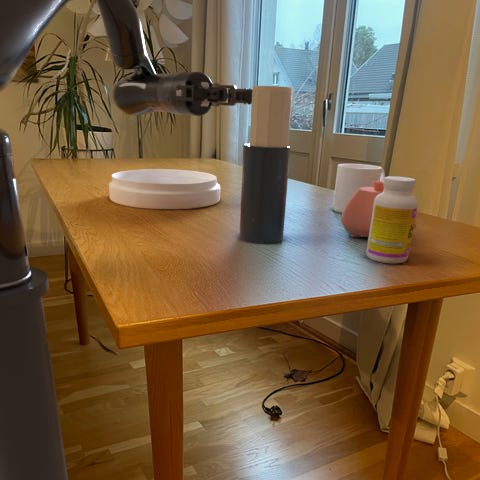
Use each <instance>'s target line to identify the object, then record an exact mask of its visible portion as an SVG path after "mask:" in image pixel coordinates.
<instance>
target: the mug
mask: <svg viewBox="0 0 480 480" xmlns="http://www.w3.org/2000/svg"><path fill="white" fill-rule="evenodd" d="M385 173H386V172H385V169H383V167H382V166H379V165H373V164H365V163H338V164H337V169H336V176H335V186H334V194H333V201H332V210H333V211H334V212H335V213H338V214H343V211H344V209H345V207H346V205H347V203H348V202H349V200H350V199H351V197H352V196H353V195H354V194H355V192H356V191H357V190H358V189H359V188H361V187H374V185H373V181H384V178H385V177H386V174H385Z"/></svg>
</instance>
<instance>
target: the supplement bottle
mask: <svg viewBox="0 0 480 480" xmlns="http://www.w3.org/2000/svg"><path fill="white" fill-rule="evenodd" d="M416 182H417V180H416V179H415V178H412V177H406V176H395V175H390V176H385V178H384V183H383V185H384V191H383V193H380V194H378V195H377V196H376V198H375V200H374V206H373V213H372V219H371V225H370V232H369V237H367V245H366V251H365V255H366V256H367V258H368V259H369V260H372V261H374V262H378V263H381V264H382V263H383V264H391V265H392V264H393V265H394V264H402V263H405V262H406V261H407V260H408V258H409V253H410V249H411V243H412V238H413V233H414V232H413V231H414V230H413V228H414V222H415V221H416V216H417V211H418V208H419V207H418V206H419V201H418V199H417V197H416V196H414V195H413V190H415V188H416Z"/></svg>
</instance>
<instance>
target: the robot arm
mask: <svg viewBox="0 0 480 480" xmlns="http://www.w3.org/2000/svg"><path fill="white" fill-rule="evenodd" d="M95 1H96V4H97V7H98V10H99V13H100V16H101V19H102V23H103V28H104V32H105V35H106V39H107V43H108V47H109V51H110V52H109V53H110V56H111V58H112V62H113V63H114V65H115V66H116V67H117V68H118V69H121V70H133V72H132V73H131V74H129V75H127V76H126V77H124V78H122V79H120V80H119V81H117V82H115V84H114V86H113V88H112V101H113V103H114V105H115V106H116V108H117V109H118V110H119V111H120V112H122V113H124V114H125V115H128V116H133V117H136V116H144V115H148V114H152V113H158V112H161V113H171V114H172V115H173V114H174V115H179V116H180V115H181V116H192V117H201V116H204V115H206V114H207V113H208V112H210V110H211V109H212V107H213V108H214V107H218V108H219V107H222V106H224V107H226V106H227V107H228V106H230V107H234V106H236V105H237V104H243V105H251V106H252V91H253V88H247V87H244V88H237V86H236V85H234V84H233V85H232V84H231V85H230V84H221V83H220V82H219V83H218V82H212V80H211V79H210V77H209V76H208V75H207V74H205V73H204V72H202V71H174V72H170V73H156V71H155V68H154V66H153V64H152V62H151V61H152V60H151V59H150V57H149V55H148V52H147V48H146V43H145V37H144V32H143V27H142V23H141V18H140V15H139V13H138V11H137V8H136V6H135V5H134V3H133V1H132V0H95ZM69 2H70V0H0V93H1V92H3V91H4V90H5V89H6V88H7V87H8V86H9V85H10V84H11V82H12V81H13V80H14V78H15V77H16V75H17V74H18V71H20V68H21V67H22V65H23V64H24V61H25V60H26V58H27V56H28V55H29V53H30V52H31V49H32V48H33V46H34V45H35V43H36V41H37V40H38V39H39V37H40V36H41V34H42V33H43V32H45V30H46V28H48V26H49V25H50V24H51V22H52V21H53V19H54V18H55V17H56V16H57V15H58V13H59V12H60V11H61V10H62V9H64V7H65V6H66V5H67V4H68V3H69ZM18 189H19V188H18V182H17V175H16V168H15V162H14V156H13V149H12V143H11V139H10V136H9V134H8V132H7V131H6V130H4V129H3V128H1V127H0V290H5V289H10V288H14V287H17V286H20V285H23V284H25V283H27V282H28V281H29V280H30V279H31V271H30V269H29V267H31V266H30V261H29V254H28V252H29V251H28V247H27V242H26V236H25V228H24V222H23V215H22V209H21V203H20V197H19V190H18Z"/></svg>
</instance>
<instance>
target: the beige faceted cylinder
mask: <svg viewBox="0 0 480 480" xmlns="http://www.w3.org/2000/svg"><path fill="white" fill-rule="evenodd" d="M252 90H253V91H252V104H251V110H250V127H249V128H250V129H249V130H250V131H249V144H250V145H251V146H256V147H269V148H285V147H288V146H289V141H290V128H291V127H290V126H291V118H292V117H291V116H292V103H293V87H292V86H278V85H252Z"/></svg>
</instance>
